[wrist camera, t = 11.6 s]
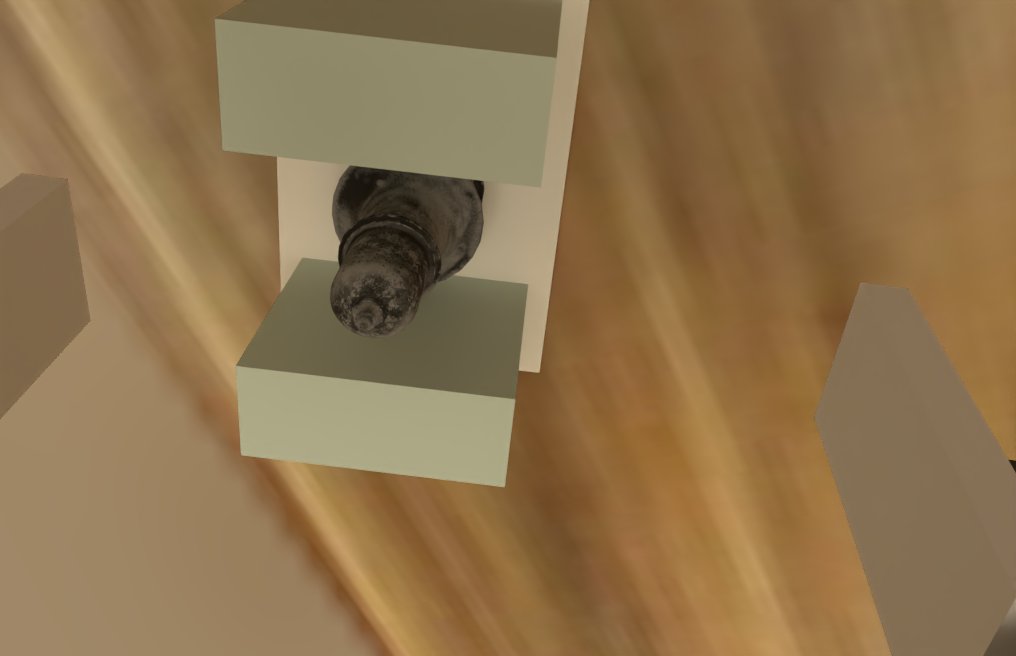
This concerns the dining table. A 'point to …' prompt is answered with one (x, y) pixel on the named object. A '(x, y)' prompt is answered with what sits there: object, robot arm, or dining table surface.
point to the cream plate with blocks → (409, 148)
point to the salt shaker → (398, 243)
